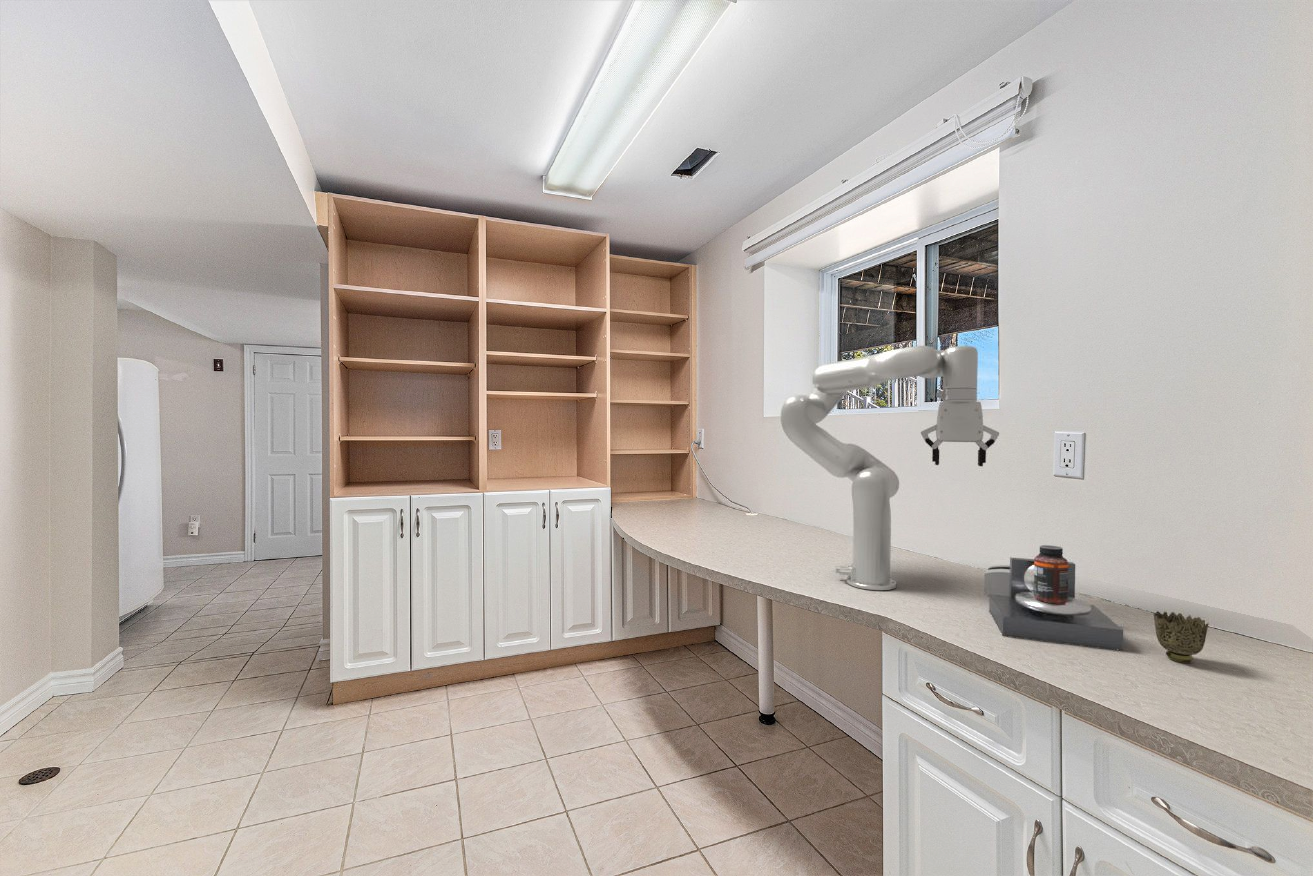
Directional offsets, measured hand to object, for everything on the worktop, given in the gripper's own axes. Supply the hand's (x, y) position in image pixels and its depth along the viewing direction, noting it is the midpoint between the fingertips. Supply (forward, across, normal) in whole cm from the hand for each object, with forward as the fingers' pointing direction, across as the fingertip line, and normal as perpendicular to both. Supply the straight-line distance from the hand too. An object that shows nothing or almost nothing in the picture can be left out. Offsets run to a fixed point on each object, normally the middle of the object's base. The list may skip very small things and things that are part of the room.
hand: (958, 465), depth 143 cm
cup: (+34, +34, -27) cm, 55 cm away
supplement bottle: (+27, +16, -18) cm, 36 cm away
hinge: (+34, +15, +3) cm, 37 cm away
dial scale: (+33, +16, -17) cm, 41 cm away
